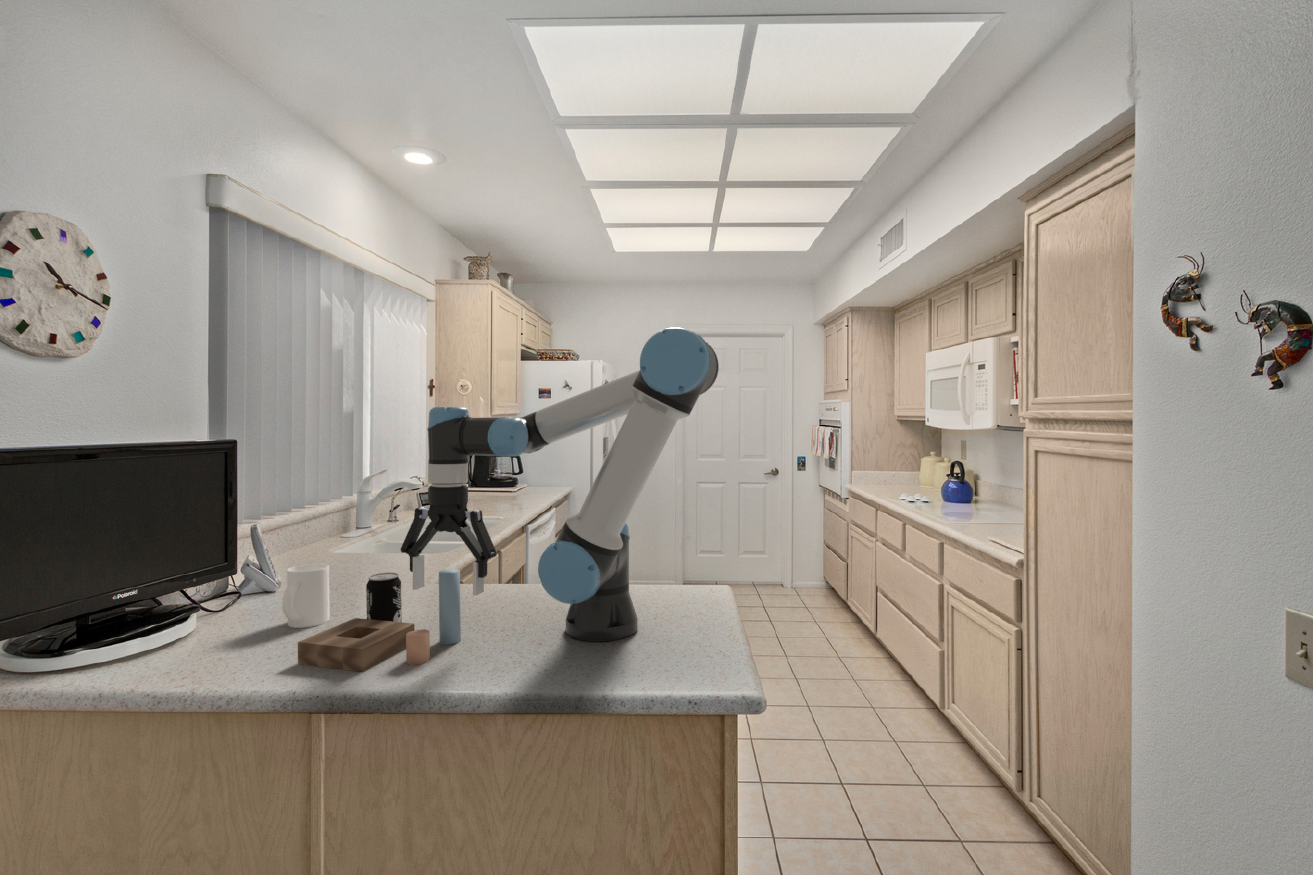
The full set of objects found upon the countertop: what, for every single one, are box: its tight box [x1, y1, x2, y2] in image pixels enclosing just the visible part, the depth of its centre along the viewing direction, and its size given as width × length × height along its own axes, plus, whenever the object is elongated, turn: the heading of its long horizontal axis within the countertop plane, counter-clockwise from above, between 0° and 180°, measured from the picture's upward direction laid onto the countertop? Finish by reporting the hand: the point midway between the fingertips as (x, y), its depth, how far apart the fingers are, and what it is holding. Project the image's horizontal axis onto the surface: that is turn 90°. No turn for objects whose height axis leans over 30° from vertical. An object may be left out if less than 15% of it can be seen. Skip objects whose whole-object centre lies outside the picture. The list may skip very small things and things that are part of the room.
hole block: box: [297, 617, 415, 673], centre depth 114 cm, size 14×14×4 cm
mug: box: [281, 563, 331, 629], centre depth 130 cm, size 8×12×12 cm
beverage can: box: [365, 572, 403, 622], centre depth 125 cm, size 7×7×12 cm
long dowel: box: [438, 568, 462, 646], centre depth 120 cm, size 4×4×14 cm
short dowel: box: [405, 629, 431, 666], centre depth 111 cm, size 4×4×5 cm
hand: (448, 590), depth 120 cm, fingers open, 13 cm apart
